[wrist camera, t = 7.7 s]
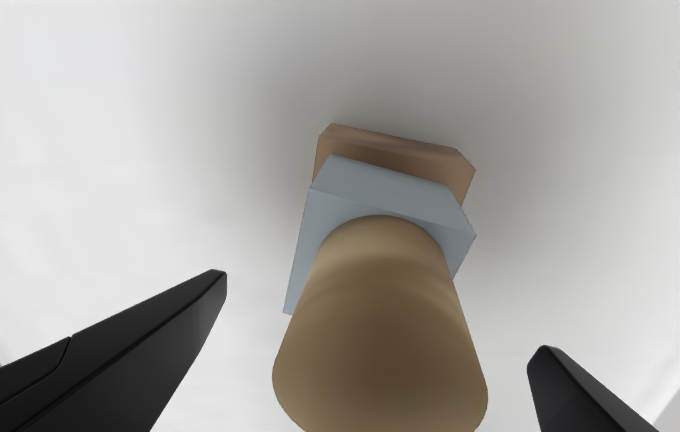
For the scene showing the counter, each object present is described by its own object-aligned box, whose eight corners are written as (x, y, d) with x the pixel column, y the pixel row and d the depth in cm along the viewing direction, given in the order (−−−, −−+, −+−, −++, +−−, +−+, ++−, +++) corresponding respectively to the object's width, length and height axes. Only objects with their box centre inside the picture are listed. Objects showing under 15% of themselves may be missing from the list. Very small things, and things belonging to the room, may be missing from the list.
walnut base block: (455, 148, 17) (475, 169, 13) (418, 252, 20) (426, 292, 16) (331, 122, 17) (318, 136, 13) (314, 229, 20) (300, 264, 16)
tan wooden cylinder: (469, 235, 9) (531, 354, 5) (421, 336, 12) (440, 478, 7) (328, 199, 10) (286, 288, 6) (305, 305, 12) (262, 427, 8)
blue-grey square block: (448, 185, 14) (476, 234, 10) (406, 279, 16) (415, 349, 12) (330, 153, 14) (309, 188, 10) (307, 251, 16) (282, 312, 12)
